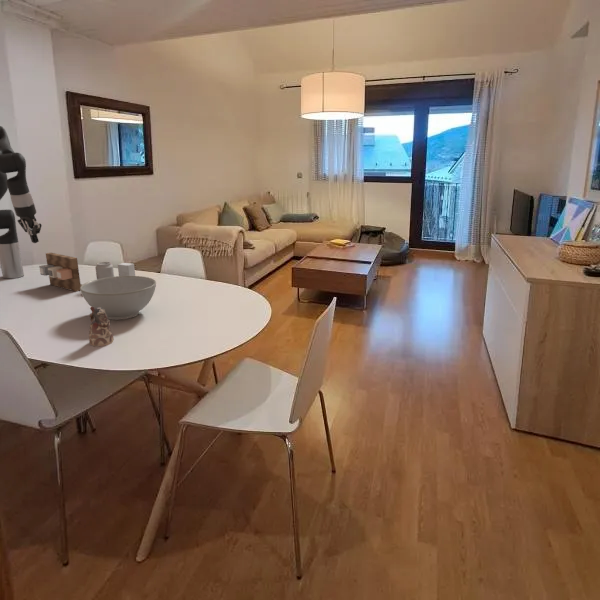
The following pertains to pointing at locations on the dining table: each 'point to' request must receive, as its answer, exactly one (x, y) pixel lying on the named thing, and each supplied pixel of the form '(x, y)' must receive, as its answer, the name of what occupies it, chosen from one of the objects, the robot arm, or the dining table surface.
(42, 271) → the key slate
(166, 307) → the dining table surface
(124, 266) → the skincare box
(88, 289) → the decorative bowl
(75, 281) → the key panel
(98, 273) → the can
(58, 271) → the key terracotta
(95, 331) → the figurine
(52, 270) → the key ivory
